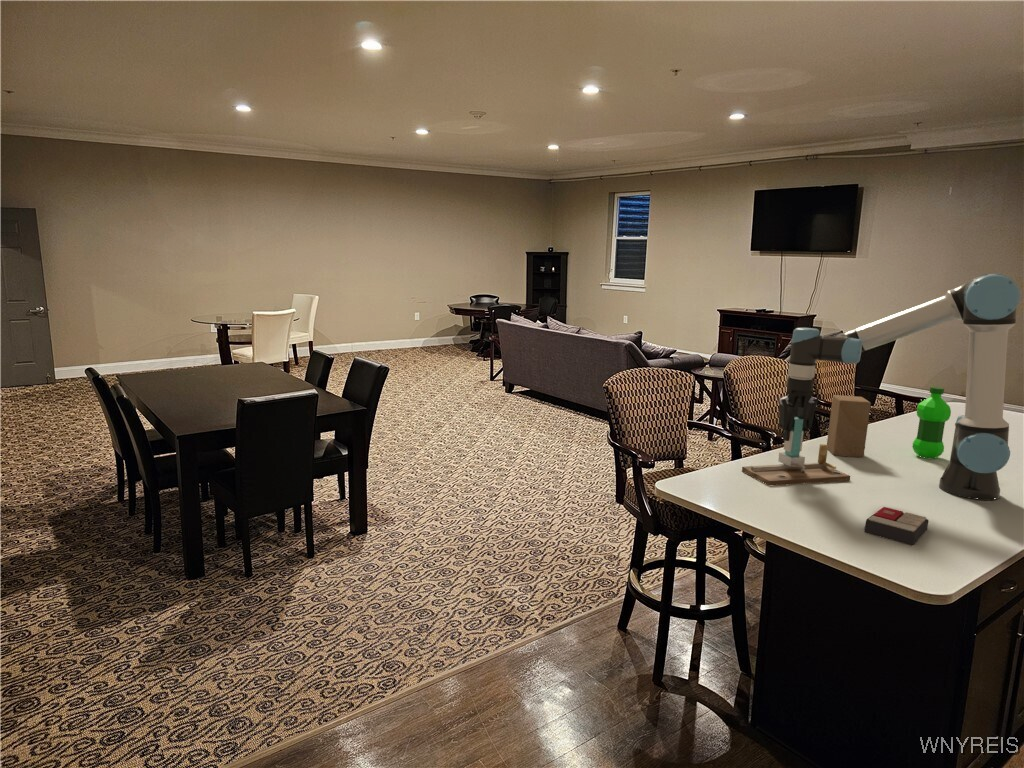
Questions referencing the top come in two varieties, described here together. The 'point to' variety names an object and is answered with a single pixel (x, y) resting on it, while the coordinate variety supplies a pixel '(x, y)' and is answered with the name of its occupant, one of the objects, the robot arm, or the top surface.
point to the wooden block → (848, 425)
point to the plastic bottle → (931, 424)
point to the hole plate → (798, 472)
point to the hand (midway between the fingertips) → (792, 450)
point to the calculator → (896, 525)
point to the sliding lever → (794, 447)
